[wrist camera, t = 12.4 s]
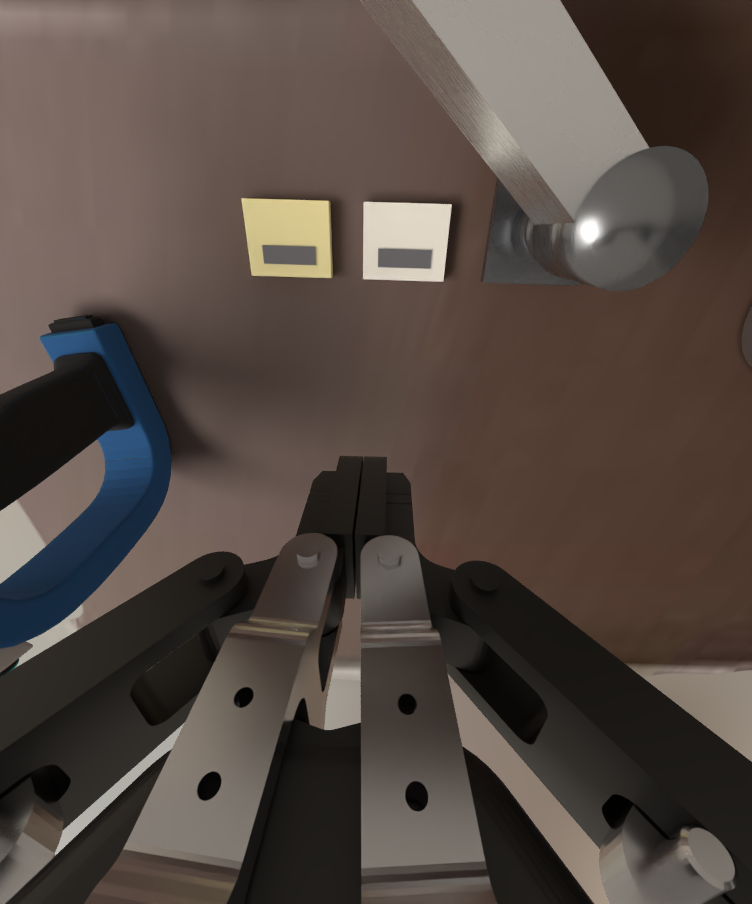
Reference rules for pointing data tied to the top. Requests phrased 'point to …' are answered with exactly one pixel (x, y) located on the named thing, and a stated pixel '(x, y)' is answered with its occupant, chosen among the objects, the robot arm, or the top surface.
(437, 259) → the label plate
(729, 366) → the top surface
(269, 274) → the label plate
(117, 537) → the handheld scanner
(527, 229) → the gray square plate
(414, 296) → the top surface
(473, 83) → the bar
